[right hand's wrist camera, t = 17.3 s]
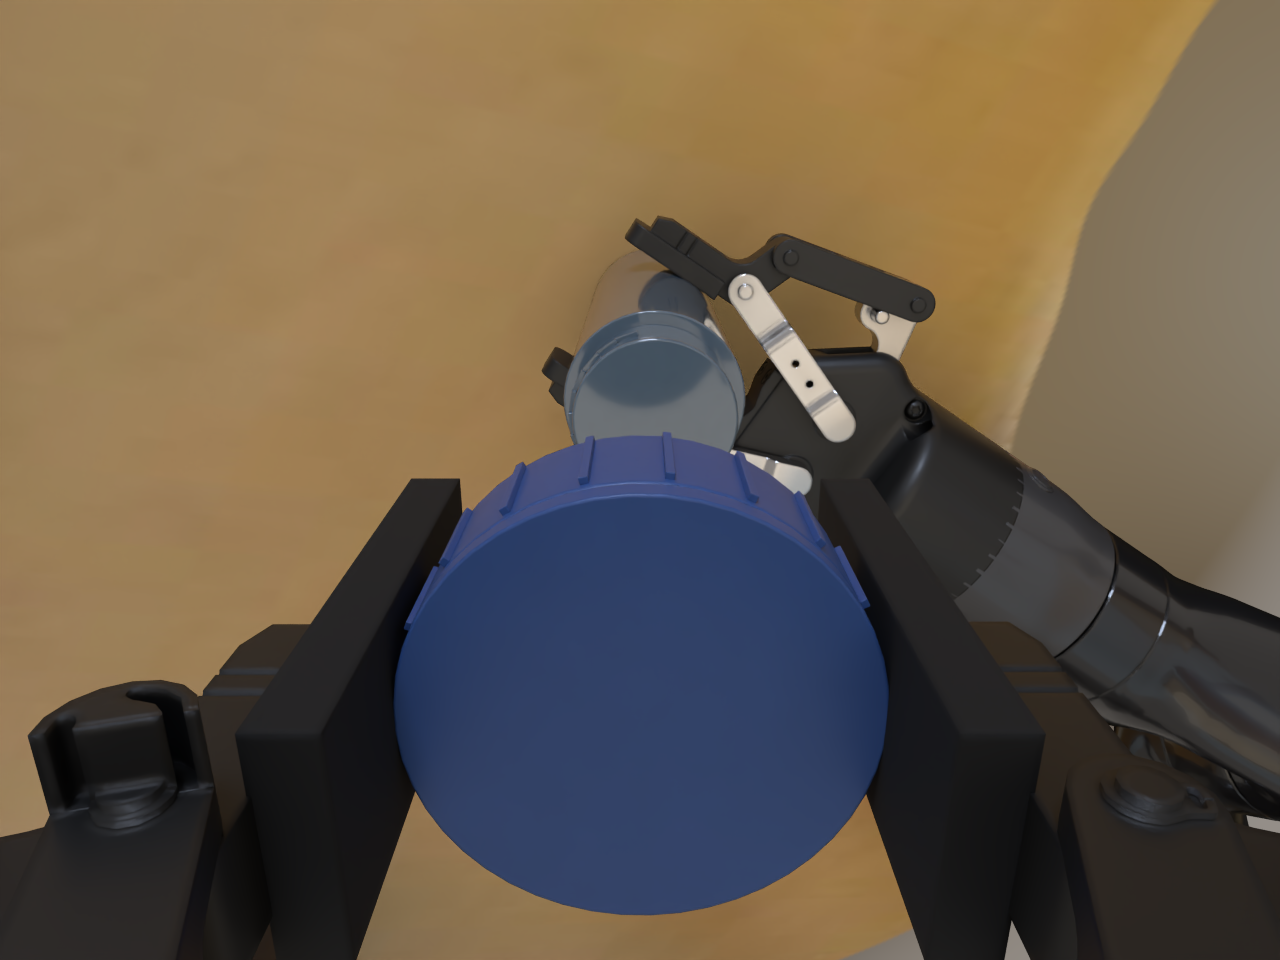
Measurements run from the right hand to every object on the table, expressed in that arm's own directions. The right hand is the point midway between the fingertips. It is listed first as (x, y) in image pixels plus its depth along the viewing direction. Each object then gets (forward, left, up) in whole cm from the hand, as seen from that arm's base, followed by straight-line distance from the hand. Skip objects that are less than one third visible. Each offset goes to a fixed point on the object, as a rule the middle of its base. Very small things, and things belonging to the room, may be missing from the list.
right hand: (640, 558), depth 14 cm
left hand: (-1, +2, -19) cm, 20 cm away
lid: (0, 0, +4) cm, 4 cm away
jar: (0, 0, -26) cm, 26 cm away
